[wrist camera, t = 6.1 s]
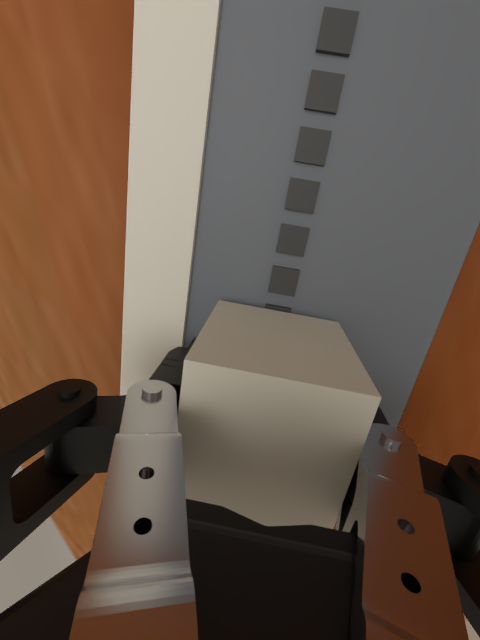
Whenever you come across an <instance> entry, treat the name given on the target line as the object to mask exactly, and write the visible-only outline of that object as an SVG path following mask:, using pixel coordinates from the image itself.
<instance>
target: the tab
mask: <svg viewBox="0 0 480 640" xmlns="http://www.w3.org/2000/svg"><path fill="white" fill-rule="evenodd" d="M381 398H382V397H381V395H380V394H379V392H378V390H377V388H376V387H375V385H374V383H373V382H372V380H371V378H370V376H369V375H368V373H367V371H366V369H365V368H364V366H363V364H362V362H361V361H360V359H359V357H358V355H357V354H356V352H355V350H354V348H353V347H352V345H351V343H350V341H349V340H348V338H347V336H346V334H345V333H344V331H343V329H342V327H341V326H340V324H339V322H336V321H330V320H325V319H320V318H314V317H309V316H303V315H298V314H292V313H287V312H282V311H276V310H271V309H265V308H260V307H254V306H249V305H244V304H238V303H233V302H227V301H222V300H219V301H218V302H217V304H216V306H215V308H214V309H213V311H212V313H211V314H210V316H209V318H208V319H207V321H206V323H205V325H204V326H203V328H202V330H201V331H200V333H199V335H198V337H197V338H196V340H195V342H194V343H193V345H192V347H191V348H190V350H189V352H188V354H187V355H186V357H185V359H184V364H183V373H182V382H181V391H180V400H179V409H178V418H177V420H178V432H181V434H182V447H183V463H184V479H185V495H186V499H190V500H195V501H200V502H205V503H210V504H214V505H219V506H223V507H225V508H227V509H230V510H232V511H234V512H236V513H238V514H240V515H242V516H245V517H247V518H249V519H251V520H253V521H255V522H257V523H260V524H262V525H264V526H290V525H316V526H321V527H325V528H330V529H333V528H334V525H335V522H336V520H337V517H338V514H339V511H340V509H341V506H342V504H343V501H344V498H345V495H346V493H347V490H348V487H349V485H350V482H351V479H352V476H353V474H354V471H355V468H356V466H357V463H358V460H359V457H360V455H361V452H362V449H363V446H364V444H365V441H366V439H367V436H368V433H369V430H370V428H371V425H372V422H373V420H374V417H375V414H376V411H377V409H378V406H379V403H380V401H381Z"/></svg>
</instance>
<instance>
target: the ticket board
mask: <svg viewBox="0 0 480 640" xmlns="http://www.w3.org/2000/svg"><path fill="white" fill-rule="evenodd" d="M479 223H480V0H135V3H134V30H133V57H132V84H131V112H130V139H129V166H128V193H127V220H126V247H125V274H124V301H123V328H122V356H121V383H120V396H121V395H127V391H128V389H129V388H130V387H131V386H132V385H133V384H135V383H137V382H140V381H144V380H149V378H150V377H151V376H152V374H153V373H154V372H155V370H156V369H157V367H158V366H159V365H160V364H161V362H162V360H163V359H164V358H165V356H166V355H167V353H168V352H169V351H170V350H172V349H174V348H176V347H178V346H179V347H185V348H188V347H189V345H190V343H191V342H192V340H193V338H194V337H198V335H199V333H200V331H201V330H202V328H203V326H204V325H205V323H206V321H207V319H208V318H209V316H210V314H211V313H212V311H213V309H214V308H215V306H216V304H217V302H218V301H219V300H222V301H227V302H233V303H238V304H244V305H249V306H254V307H260V308H265V309H271V310H276V311H282V312H287V313H292V314H298V315H303V316H309V317H314V318H320V319H325V320H330V321H336V322H339V324H340V326H341V327H342V329H343V331H344V333H345V334H346V336H347V338H348V340H349V341H350V343H351V345H352V347H353V348H354V350H355V352H356V354H357V355H358V357H359V359H360V361H361V362H362V364H363V366H364V368H365V369H366V371H367V373H368V375H369V376H370V378H371V380H372V382H373V383H374V385H375V387H376V388H377V390H378V392H379V394H380V395H381V397H382V398H381V401H380V403H379V407H380V408H381V410H382V412H383V414H384V416H385V418H386V419H387V421H388V423H389V425H390V426H392V427H394V428H397V426H398V423H399V421H400V418H401V416H402V413H403V411H404V409H405V406H406V404H407V401H408V399H409V396H410V394H411V391H412V389H413V386H414V384H415V381H416V379H417V376H418V374H419V371H420V369H421V366H422V364H423V362H424V359H425V357H426V354H427V352H428V349H429V347H430V344H431V342H432V339H433V337H434V334H435V332H436V329H437V327H438V324H439V322H440V319H441V317H442V314H443V312H444V310H445V307H446V305H447V302H448V300H449V297H450V295H451V292H452V290H453V287H454V285H455V282H456V280H457V277H458V275H459V272H460V270H461V267H462V265H463V262H464V260H465V258H466V255H467V253H468V250H469V248H470V245H471V243H472V240H473V238H474V235H475V233H476V230H477V228H478V225H479Z"/></svg>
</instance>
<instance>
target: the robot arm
mask: <svg viewBox="0 0 480 640" xmlns="http://www.w3.org/2000/svg"><path fill="white" fill-rule="evenodd" d="M196 338H197V337H194V338H193V340H192V342H191V343H190V345H189V347H188V348H185V347H179V346H178V347H176V348H174V349H172V350H170V351H169V352H168V353H167V355H166V356H165V358H164V359H163V360H162V362H161V364H160V365H159V366H158V367H157V369H156V370H155V372H154V373H153V374H152V376H151V377H150V378H149V380H144V381H140V382H137V383H135V384H133V385H132V386H131V387H130V388H129V389H128V391H127V395H121V396H97V387H96V386H95V384H93V383H92V382H90V381H87V380H83V379H67V380H61V381H58V382H55V383H52V384H50V385H48V386H46V387H44V388H42V389H40V390H38V391H36V392H34V393H32V394H30V395H28V396H26V397H24V398H22V399H20V400H18V401H16V402H14V403H12V404H10V405H8V406H6V407H4V408H2V409H0V561H1V560H2V559H3V558H4V557H5V556H6V555H7V554H8V553H9V552H11V551H12V550H13V549H14V548H15V547H16V546H17V545H18V544H19V543H21V541H23V540H24V539H25V538H26V537H27V536H28V535H29V534H30V533H32V532H33V531H34V530H35V529H36V528H37V527H38V526H39V525H40V524H41V523H43V522H44V521H45V520H46V519H47V518H48V517H49V516H50V515H51V514H52V513H54V512H55V511H56V510H57V509H58V508H59V507H60V506H61V505H62V504H63V503H65V502H66V501H67V500H68V499H69V498H70V497H71V496H72V495H73V494H74V493H76V492H77V491H78V490H79V489H80V488H81V487H82V486H83V485H84V484H85V483H87V482H88V481H89V480H90V479H91V478H92V477H93V475H94V474H95V473H103V472H107V477H106V482H105V487H104V492H103V496H102V501H101V506H100V511H99V516H98V520H97V525H96V530H95V535H94V540H93V544H92V549H91V551H90V552H88V553H87V554H85V555H84V556H82V557H81V558H80V559H78V560H77V561H75V562H74V563H72V564H71V565H70V566H68V567H67V568H65V569H64V570H62V571H61V572H60V573H58V574H57V575H55V576H54V577H52V578H51V579H49V580H48V581H46V582H45V583H44V584H42V585H41V586H39V587H38V588H36V589H35V590H33V591H32V592H31V593H29V594H28V595H26V596H25V597H23V598H22V599H21V600H19V601H18V602H16V603H15V604H14V605H12V606H10V607H9V608H8V609H6V610H5V611H3V612H2V613H0V640H469V639H468V634H467V629H466V625H465V620H464V615H465V616H466V618H467V619H468V621H469V622H470V624H471V625H472V627H473V628H474V630H475V631H476V632H477V634H478V635H479V637H480V460H478V459H476V458H473V457H470V456H466V455H454V456H452V457H451V459H450V461H449V463H448V465H447V466H445V465H443V464H440V463H438V462H435V461H433V460H430V459H428V458H425V457H423V456H421V455H419V454H418V450H417V447H416V445H415V443H414V442H413V440H412V439H411V438H410V437H408V436H407V435H406V434H405V433H403V432H402V431H400V430H398V429H396V428H394V427H392V426H390V425H389V423H388V421H387V419H386V418H385V416H384V414H383V412H382V410H381V408H380V407H379V406H378V409H377V411H376V414H375V417H374V420H373V422H372V425H371V428H370V430H369V433H368V436H367V439H366V441H365V444H364V446H363V449H362V452H361V455H360V457H359V460H358V463H357V466H356V468H355V471H354V474H353V476H352V479H351V482H350V485H349V487H348V490H347V493H346V495H345V498H344V501H343V504H342V506H341V509H340V511H339V514H338V518H337V524H336V530H335V529H330V528H325V527H321V526H316V525H290V526H264V525H262V524H260V523H257V522H255V521H253V520H251V519H249V518H247V517H245V516H242V515H240V514H238V513H236V512H234V511H232V510H230V509H227V508H225V507H223V506H219V505H214V504H210V503H205V502H200V501H195V500H190V499H186V495H185V479H184V463H183V447H182V434H181V432H178V420H177V418H178V409H179V400H180V391H181V382H182V373H183V364H184V359H185V357H186V355H187V354H188V352H189V350H190V348H191V347H192V345H193V343H194V342H195V340H196ZM42 449H44V452H45V455H43V456H42V457H40V458H39V459H37V460H36V461H35V462H33V463H32V464H30V465H29V466H28V467H26V468H25V469H23V470H22V471H21V472H19V473H18V474H16V475H15V476H13V477H12V475H13V473H14V472H15V470H16V469H17V468H18V467H19V466H20V465H21V464H22V463H24V462H25V461H26V460H28V459H29V458H31V457H32V456H34V455H35V454H37V453H38V452H39V451H41V450H42ZM11 477H12V478H11ZM463 613H464V615H463Z"/></svg>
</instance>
